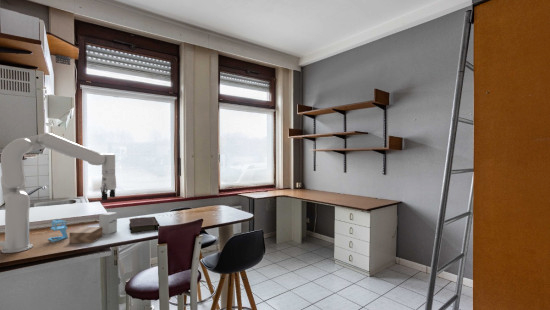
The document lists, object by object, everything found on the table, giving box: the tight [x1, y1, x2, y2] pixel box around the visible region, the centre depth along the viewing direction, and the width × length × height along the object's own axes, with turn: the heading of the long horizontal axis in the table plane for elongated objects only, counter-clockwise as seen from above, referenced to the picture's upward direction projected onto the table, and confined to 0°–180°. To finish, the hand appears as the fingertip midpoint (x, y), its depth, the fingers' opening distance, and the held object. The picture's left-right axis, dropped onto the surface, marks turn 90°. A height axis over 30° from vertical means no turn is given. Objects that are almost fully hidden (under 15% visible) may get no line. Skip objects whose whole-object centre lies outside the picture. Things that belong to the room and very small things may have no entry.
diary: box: [128, 216, 161, 234], centre depth 196 cm, size 19×25×5 cm
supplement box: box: [98, 211, 118, 235], centre depth 183 cm, size 7×7×13 cm
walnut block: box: [68, 226, 103, 244], centre depth 167 cm, size 12×12×6 cm
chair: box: [47, 219, 69, 243], centre depth 168 cm, size 8×8×12 cm
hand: (108, 198), depth 182 cm, fingers open, 9 cm apart
